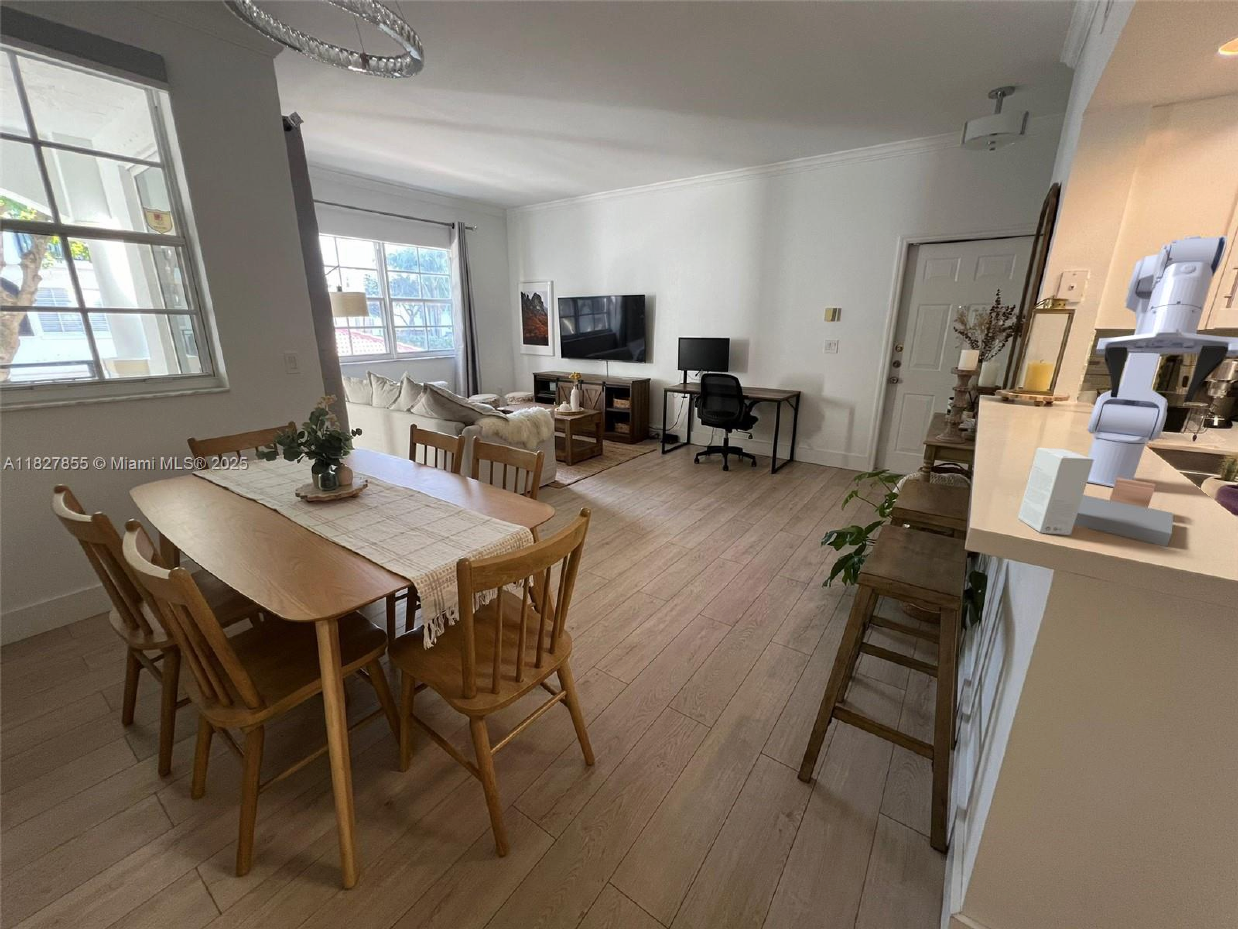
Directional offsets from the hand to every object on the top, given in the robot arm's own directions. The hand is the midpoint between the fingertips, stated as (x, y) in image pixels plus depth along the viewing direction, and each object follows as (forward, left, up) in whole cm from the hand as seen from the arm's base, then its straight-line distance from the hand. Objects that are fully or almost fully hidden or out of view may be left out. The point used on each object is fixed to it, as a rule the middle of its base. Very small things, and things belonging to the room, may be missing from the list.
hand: (1149, 397), depth 72 cm
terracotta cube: (-7, +2, -20) cm, 21 cm away
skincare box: (+13, -6, -20) cm, 25 cm away
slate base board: (+2, +1, -20) cm, 20 cm away
